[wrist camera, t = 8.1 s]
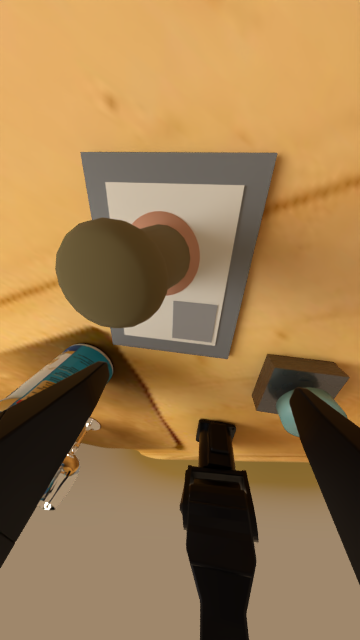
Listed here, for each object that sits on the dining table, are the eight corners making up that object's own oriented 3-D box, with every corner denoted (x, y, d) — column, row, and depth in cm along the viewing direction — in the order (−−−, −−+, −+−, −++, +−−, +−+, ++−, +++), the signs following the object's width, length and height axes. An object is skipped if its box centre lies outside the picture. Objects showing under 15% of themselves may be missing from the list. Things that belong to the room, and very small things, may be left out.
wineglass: (73, 415, 34) (14, 494, 24) (95, 414, 33) (43, 497, 22) (86, 431, 37) (38, 509, 26) (107, 431, 35) (66, 513, 25)
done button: (319, 424, 20) (330, 442, 18) (269, 416, 21) (275, 433, 19) (344, 391, 17) (359, 409, 16) (285, 383, 18) (294, 399, 16)
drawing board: (227, 355, 22) (228, 360, 21) (115, 341, 23) (112, 345, 23) (273, 157, 13) (279, 151, 12) (86, 156, 14) (77, 150, 13)
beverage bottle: (118, 384, 28) (-32, 639, 10) (73, 377, 29) (-138, 601, 11) (111, 344, 24) (-153, 644, 6) (59, 338, 25) (-302, 585, 7)
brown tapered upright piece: (178, 213, 14) (125, 159, 5) (197, 277, 17) (189, 332, 7) (121, 238, 16) (-7, 237, 6) (146, 294, 18) (81, 357, 9)
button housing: (307, 403, 24) (317, 420, 22) (251, 395, 25) (256, 410, 22) (333, 362, 20) (349, 377, 18) (267, 354, 21) (274, 367, 19)
